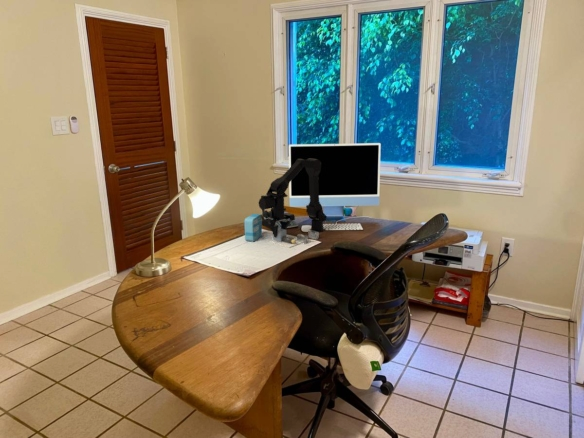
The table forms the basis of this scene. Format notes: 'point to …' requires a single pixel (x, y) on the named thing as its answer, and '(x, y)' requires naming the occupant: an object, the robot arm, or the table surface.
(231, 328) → the table surface
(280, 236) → the plug
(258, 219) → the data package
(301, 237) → the housing
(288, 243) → the mat
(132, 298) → the table surface
